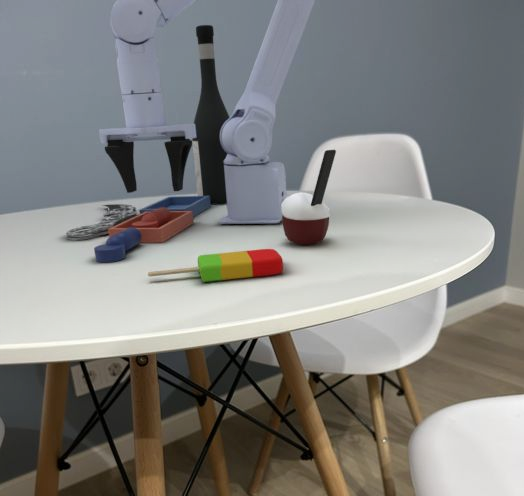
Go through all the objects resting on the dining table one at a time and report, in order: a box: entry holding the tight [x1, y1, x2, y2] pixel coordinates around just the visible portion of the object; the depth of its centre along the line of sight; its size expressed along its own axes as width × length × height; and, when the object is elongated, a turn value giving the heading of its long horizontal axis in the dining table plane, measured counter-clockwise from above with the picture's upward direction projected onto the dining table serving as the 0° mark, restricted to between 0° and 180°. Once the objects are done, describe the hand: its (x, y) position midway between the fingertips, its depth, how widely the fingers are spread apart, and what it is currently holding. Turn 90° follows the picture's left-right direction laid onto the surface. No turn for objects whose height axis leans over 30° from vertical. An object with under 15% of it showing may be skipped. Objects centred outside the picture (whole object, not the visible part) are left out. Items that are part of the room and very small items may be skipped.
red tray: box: [108, 211, 194, 244], centre depth 89 cm, size 8×13×2 cm, turn 167°
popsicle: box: [147, 248, 284, 283], centre depth 65 cm, size 6×15×2 cm, turn 100°
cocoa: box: [281, 149, 337, 246], centre depth 75 cm, size 10×6×12 cm, turn 9°
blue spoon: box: [93, 227, 142, 263], centre depth 78 cm, size 10×4×3 cm, turn 167°
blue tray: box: [138, 195, 212, 218], centre depth 103 cm, size 8×13×2 cm, turn 167°
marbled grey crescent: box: [65, 203, 137, 241], centre depth 100 cm, size 28×2×10 cm
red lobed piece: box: [132, 207, 171, 228], centre depth 89 cm, size 10×4×3 cm, turn 167°
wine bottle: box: [191, 24, 231, 205], centre depth 107 cm, size 8×8×30 cm
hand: (154, 191), depth 89 cm, fingers open, 7 cm apart
